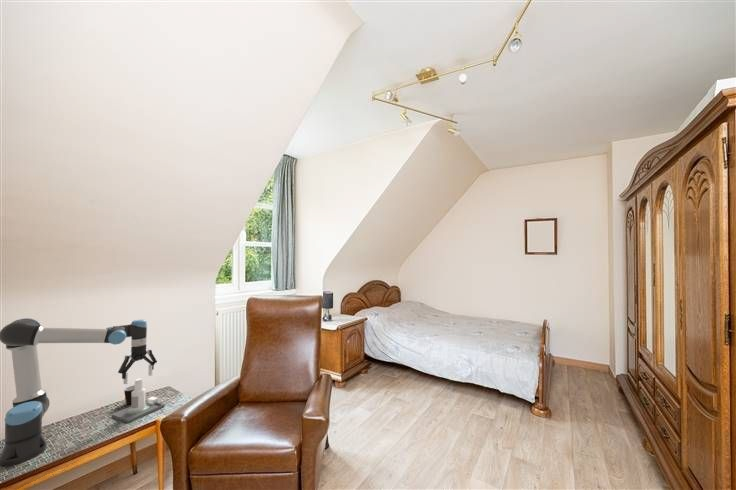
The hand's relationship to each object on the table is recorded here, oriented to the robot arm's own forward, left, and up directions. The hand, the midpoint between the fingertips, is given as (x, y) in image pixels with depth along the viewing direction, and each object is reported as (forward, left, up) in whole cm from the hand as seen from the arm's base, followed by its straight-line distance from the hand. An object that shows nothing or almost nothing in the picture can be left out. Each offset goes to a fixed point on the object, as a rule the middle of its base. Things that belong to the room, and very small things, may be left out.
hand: (138, 379), depth 181 cm
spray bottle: (0, 0, -18) cm, 18 cm away
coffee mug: (+6, +17, -20) cm, 27 cm away
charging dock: (0, 0, -20) cm, 20 cm away
